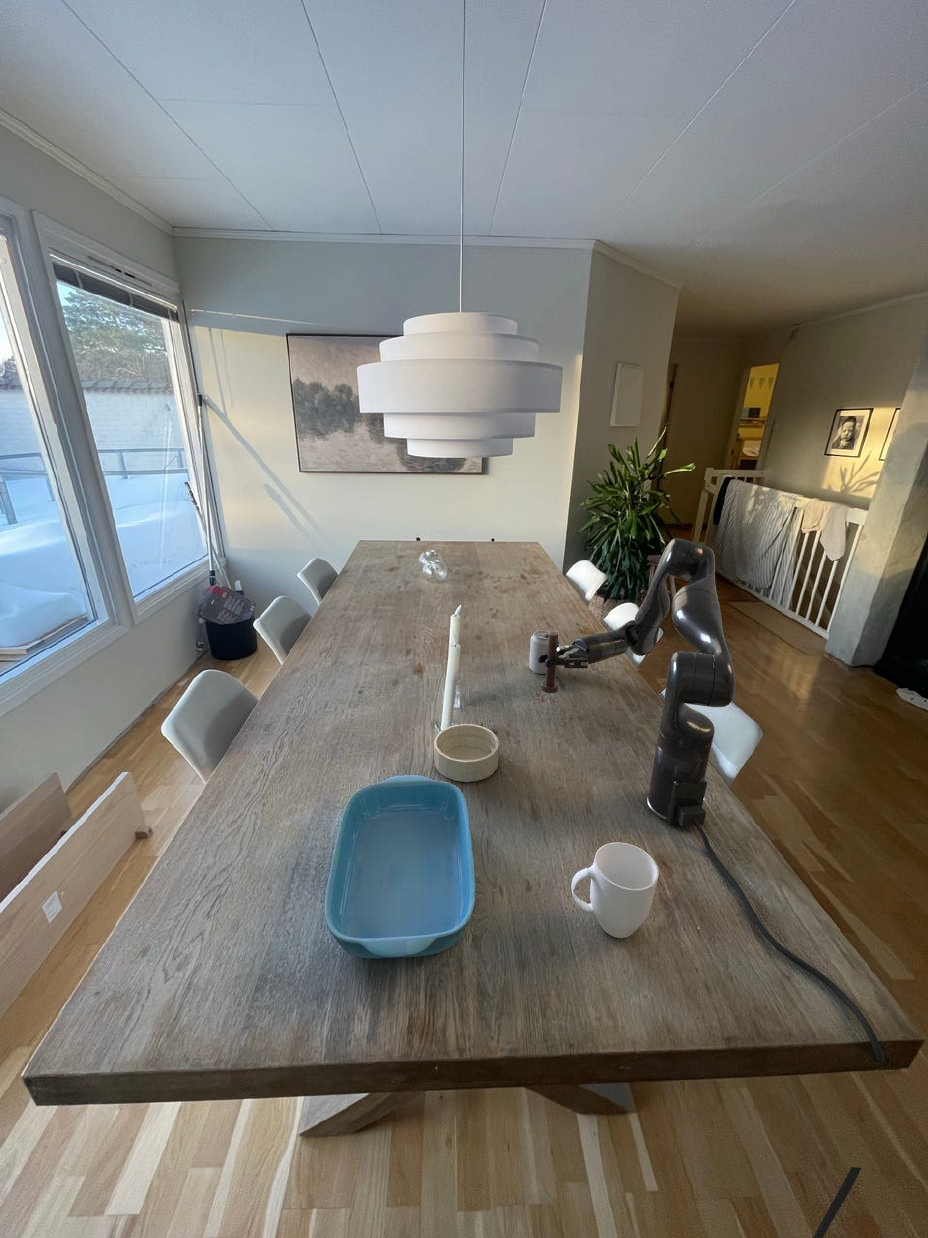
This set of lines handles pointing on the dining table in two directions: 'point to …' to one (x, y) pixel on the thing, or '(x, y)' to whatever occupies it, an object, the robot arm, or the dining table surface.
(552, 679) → the stirring stick
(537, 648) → the can
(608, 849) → the mug
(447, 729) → the bowl
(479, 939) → the dining table surface
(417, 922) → the casserole dish
